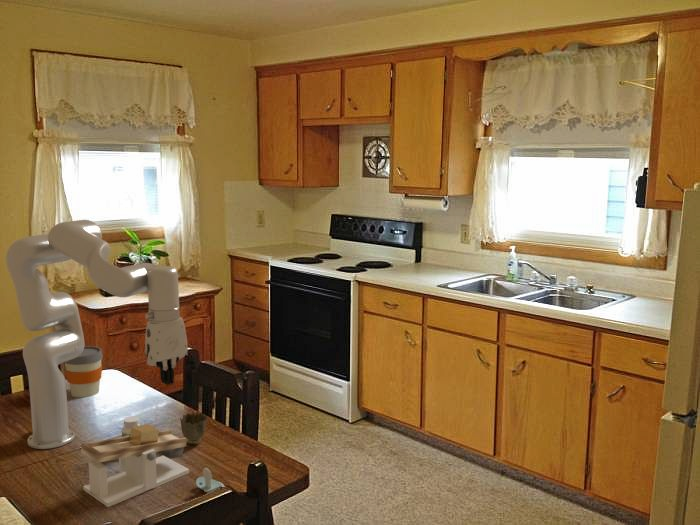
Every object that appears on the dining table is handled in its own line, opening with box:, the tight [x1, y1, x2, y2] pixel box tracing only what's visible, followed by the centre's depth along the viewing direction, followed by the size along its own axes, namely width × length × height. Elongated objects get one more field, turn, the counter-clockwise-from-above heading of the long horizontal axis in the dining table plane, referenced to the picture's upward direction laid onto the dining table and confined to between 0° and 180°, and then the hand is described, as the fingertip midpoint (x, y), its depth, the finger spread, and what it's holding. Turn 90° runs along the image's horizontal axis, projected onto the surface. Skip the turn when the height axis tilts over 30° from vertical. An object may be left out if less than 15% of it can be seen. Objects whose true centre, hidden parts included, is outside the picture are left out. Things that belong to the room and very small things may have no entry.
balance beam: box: [80, 429, 188, 463], centre depth 167 cm, size 25×8×5 cm, turn 139°
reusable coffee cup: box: [63, 345, 104, 398], centre depth 228 cm, size 13×13×15 cm
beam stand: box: [82, 436, 190, 508], centre depth 168 cm, size 23×14×10 cm, turn 139°
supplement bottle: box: [121, 416, 140, 437], centre depth 184 cm, size 5×5×10 cm
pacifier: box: [195, 467, 226, 494], centre depth 165 cm, size 7×6×6 cm
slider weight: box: [129, 423, 160, 446], centre depth 169 cm, size 5×5×4 cm
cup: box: [179, 412, 208, 446], centre depth 190 cm, size 8×7×8 cm
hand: (167, 382), depth 172 cm, fingers closed
